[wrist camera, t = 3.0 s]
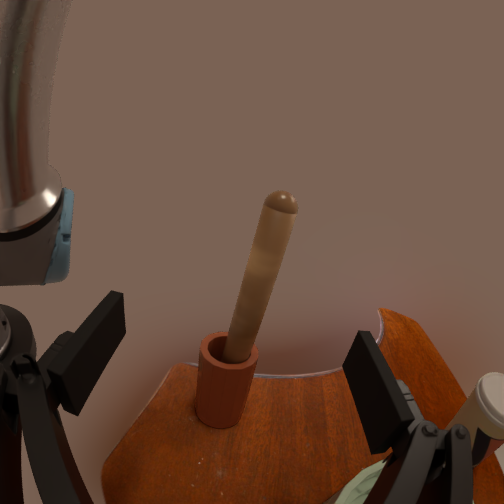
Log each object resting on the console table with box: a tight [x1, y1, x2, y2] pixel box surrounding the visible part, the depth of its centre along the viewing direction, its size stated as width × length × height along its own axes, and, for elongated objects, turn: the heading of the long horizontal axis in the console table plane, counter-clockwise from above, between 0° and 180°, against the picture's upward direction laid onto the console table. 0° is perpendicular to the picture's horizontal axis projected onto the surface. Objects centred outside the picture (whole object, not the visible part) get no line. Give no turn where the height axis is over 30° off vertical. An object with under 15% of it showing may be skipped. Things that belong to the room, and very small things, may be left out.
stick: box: [221, 191, 298, 364], centre depth 23 cm, size 2×2×24 cm
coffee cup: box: [445, 372, 504, 468], centre depth 18 cm, size 9×9×12 cm
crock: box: [195, 332, 258, 428], centre depth 26 cm, size 5×6×10 cm
